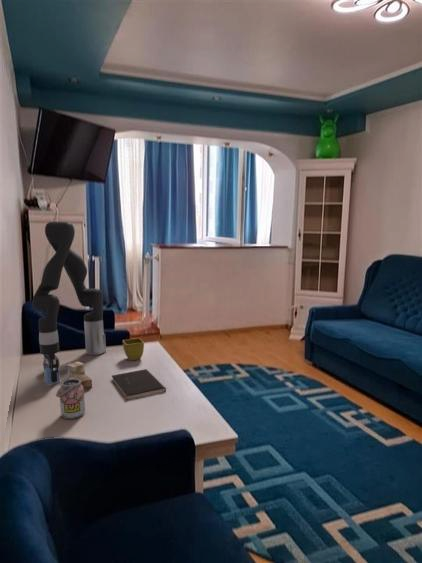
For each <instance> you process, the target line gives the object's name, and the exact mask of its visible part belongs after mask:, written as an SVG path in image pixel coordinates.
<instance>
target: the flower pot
mask: <svg viewBox="0 0 422 563" xmlns="http://www.w3.org/2000/svg"><path fill="white" fill-rule="evenodd" d="M122 347H123V351H124V354H125V356H126V357H127V358H128V360H129V361H137V360H141V358H143V357H142V356H143V354H144V348H145V342H144V341H143V340H142V339H141V338H140V337H135V338H129V339H123V340H122Z"/></svg>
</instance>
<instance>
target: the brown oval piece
mask: <svg viewBox="0 0 422 563" xmlns="http://www.w3.org/2000/svg"><path fill="white" fill-rule="evenodd" d="M55 356H56V358H57V360H58V369H59V368H60V364H61V363H60V359H59V358H58V356H57V355H56V354H55ZM42 364H43V365H42V366H43V369H44V368H46V366H45V365H44V364H45V363H44V361H43V363H42ZM59 370H60V369H59Z"/></svg>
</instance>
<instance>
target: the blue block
mask: <svg viewBox="0 0 422 563" xmlns="http://www.w3.org/2000/svg"><path fill="white" fill-rule="evenodd" d="M54 370H55V368H53V371H54ZM43 375H44V383H45V384H46V385H47V386H52V385H56V384H59V383H60V384H61V379H60V377H61V376H60V375H61V374H60V369H58V373H57V382H52V381H51V373H50V369H49V368H48V367H47V368H44V367H43Z"/></svg>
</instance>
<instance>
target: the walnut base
mask: <svg viewBox="0 0 422 563" xmlns="http://www.w3.org/2000/svg"><path fill="white" fill-rule="evenodd" d="M72 378H74V379H79V380H80V381H81V385H82V386H83V388H84V391H87V390H90V389H93V379H92V378H91V377H89V376H88V375H87V374H84V375H80V376H76V377H72ZM69 379H71V378H69V377H68V380H69Z"/></svg>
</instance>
